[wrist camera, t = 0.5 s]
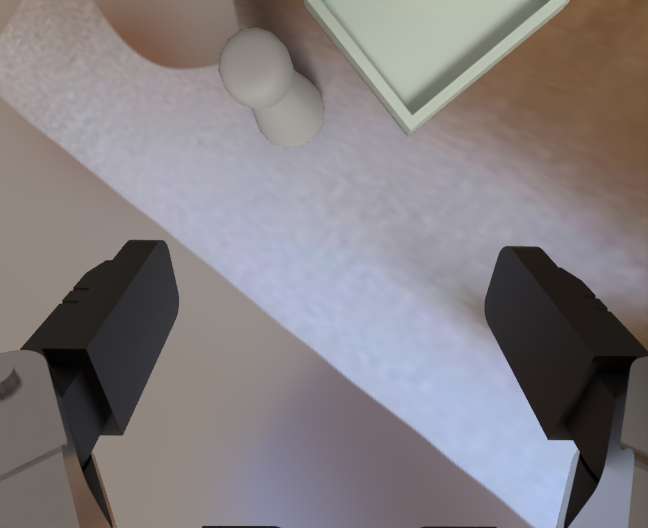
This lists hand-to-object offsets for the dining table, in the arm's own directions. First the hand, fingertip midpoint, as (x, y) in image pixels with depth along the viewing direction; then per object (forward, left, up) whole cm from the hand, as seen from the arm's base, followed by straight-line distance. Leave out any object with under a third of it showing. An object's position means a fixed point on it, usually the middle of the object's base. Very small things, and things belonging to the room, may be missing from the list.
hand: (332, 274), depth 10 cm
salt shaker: (-2, -12, -26) cm, 29 cm away
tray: (-16, -11, -26) cm, 32 cm away
